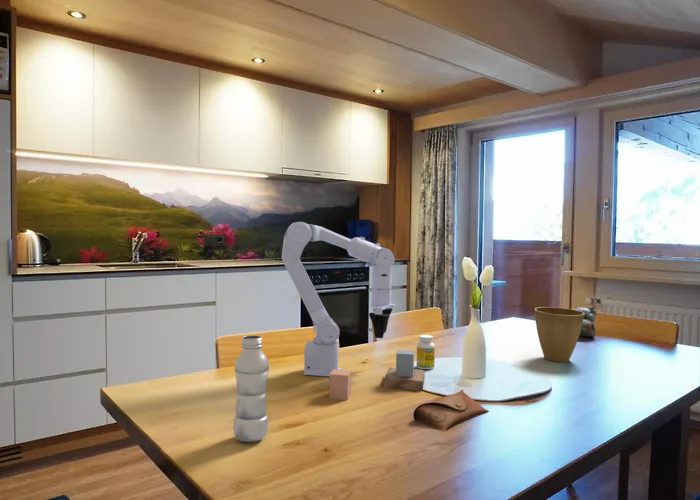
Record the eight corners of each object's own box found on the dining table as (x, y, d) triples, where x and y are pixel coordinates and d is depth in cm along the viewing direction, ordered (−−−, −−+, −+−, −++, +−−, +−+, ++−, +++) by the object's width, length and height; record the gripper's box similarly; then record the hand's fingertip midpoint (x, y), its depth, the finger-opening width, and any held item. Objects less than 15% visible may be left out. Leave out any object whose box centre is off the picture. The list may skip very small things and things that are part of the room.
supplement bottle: (425, 364, 149) (426, 333, 148) (438, 368, 144) (439, 336, 144) (412, 366, 146) (413, 335, 146) (424, 371, 141) (425, 338, 141)
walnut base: (384, 389, 126) (384, 378, 126) (388, 377, 136) (389, 367, 136) (422, 392, 125) (423, 381, 124) (424, 380, 134) (424, 370, 134)
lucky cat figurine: (550, 333, 197) (556, 302, 202) (573, 344, 199) (578, 313, 204) (578, 330, 183) (583, 296, 188) (603, 341, 186) (607, 308, 190)
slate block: (395, 375, 128) (396, 353, 128) (397, 371, 133) (397, 349, 133) (412, 376, 128) (413, 354, 127) (413, 372, 132) (414, 350, 132)
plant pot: (532, 362, 153) (534, 312, 153) (533, 351, 167) (535, 305, 166) (584, 368, 148) (586, 316, 147) (581, 356, 161) (582, 309, 161)
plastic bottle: (235, 432, 97) (236, 333, 96) (269, 432, 97) (270, 333, 97) (230, 447, 90) (231, 341, 90) (267, 446, 91) (268, 341, 90)
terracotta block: (329, 398, 118) (329, 374, 117) (333, 392, 122) (333, 368, 122) (347, 400, 117) (347, 375, 116) (350, 393, 121) (351, 370, 121)
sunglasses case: (445, 432, 99) (432, 400, 101) (421, 439, 103) (409, 409, 105) (491, 410, 111) (478, 382, 113) (468, 418, 115) (456, 391, 118)
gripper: (393, 292, 133) (392, 341, 133) (397, 286, 147) (396, 330, 148) (367, 291, 134) (366, 339, 135) (374, 285, 148) (373, 329, 149)
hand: (380, 335), depth 141 cm, fingers open, 7 cm apart
